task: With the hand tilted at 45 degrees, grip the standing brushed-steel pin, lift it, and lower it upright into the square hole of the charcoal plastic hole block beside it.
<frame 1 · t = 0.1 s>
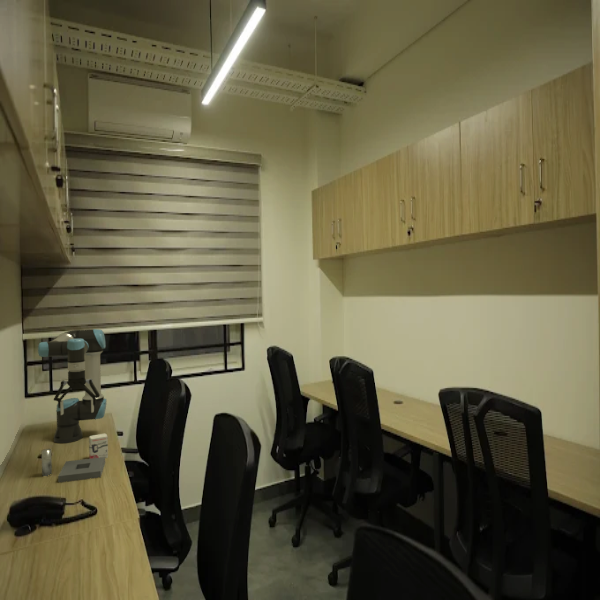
hand: (77, 413, 216), 28 cm above the table, tool pointing down, fingers open, 13 cm apart
hole block: (83, 472, 213), on the table
steel pin: (46, 474, 210), on the table
ink box: (98, 458, 231), on the table
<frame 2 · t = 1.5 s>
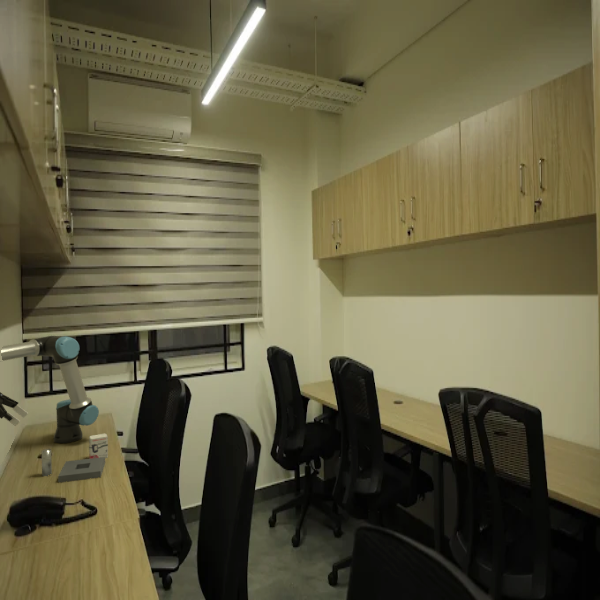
hand: (22, 419, 206), 28 cm above the table, tool tilted 45°, fingers open, 13 cm apart
nothing on the table moved.
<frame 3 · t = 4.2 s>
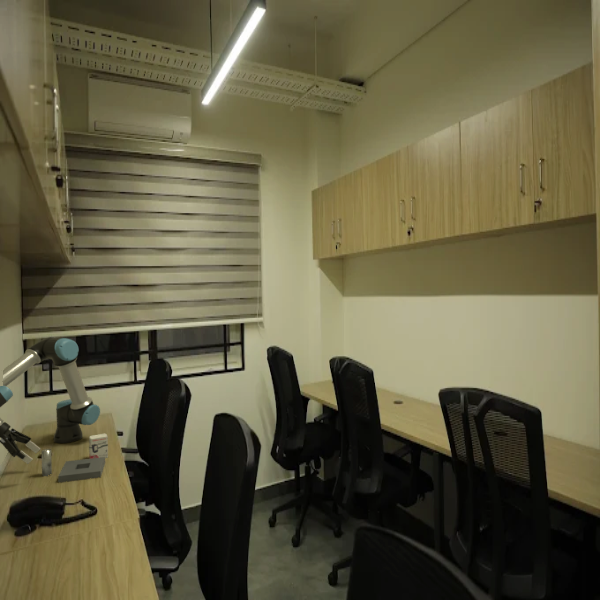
hand: (34, 456, 208), 10 cm above the table, tool tilted 45°, fingers open, 13 cm apart
nothing on the table moved.
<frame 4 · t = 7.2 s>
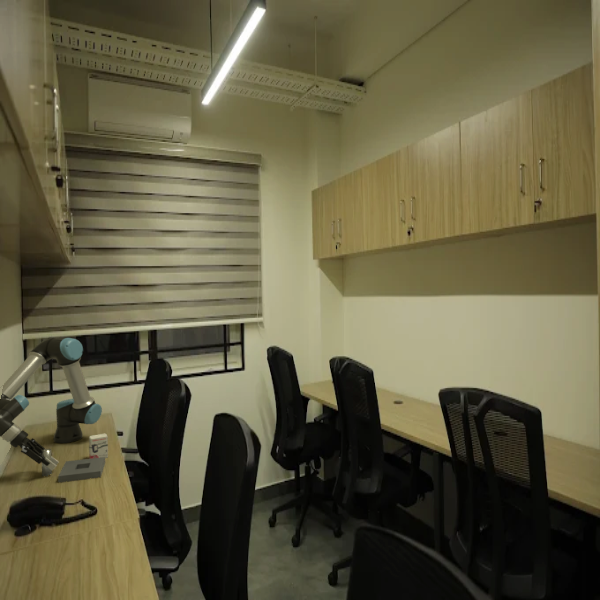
hand: (55, 466, 211), 4 cm above the table, tool tilted 45°, fingers closed on steel pin, 4 cm apart
steel pin: (46, 474, 210), on the table, touching gripper
everything else where it was.
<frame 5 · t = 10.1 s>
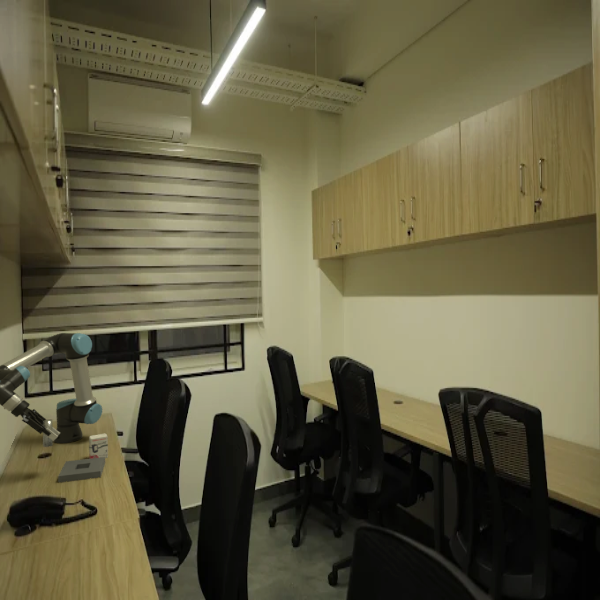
hand: (56, 436, 211), 18 cm above the table, tool tilted 45°, fingers closed on steel pin, 4 cm apart
steel pin: (48, 445, 210), point 14 cm above the table, touching gripper
everything else where it was.
when the fingers open (5 cm above the table, at t = 13.3 s): steel pin drops 2 cm, resting in hole block.
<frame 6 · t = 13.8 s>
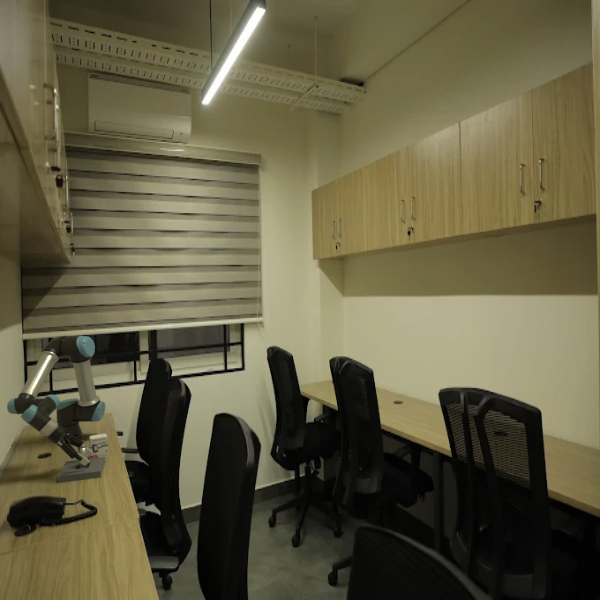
hand: (89, 458, 214), 6 cm above the table, tool tilted 45°, fingers open, 11 cm apart
steel pin: (82, 472, 213), resting in hole block
everything else where it was.
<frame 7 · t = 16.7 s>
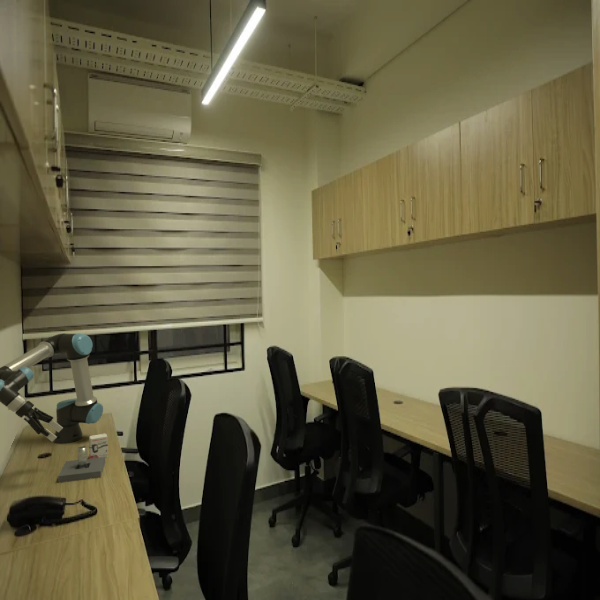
hand: (57, 434, 209), 20 cm above the table, tool tilted 45°, fingers open, 13 cm apart
nothing on the table moved.
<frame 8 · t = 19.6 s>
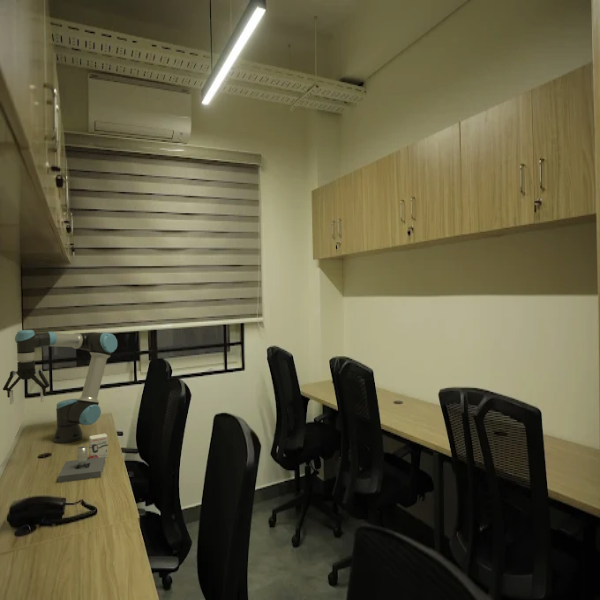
hand: (27, 402, 222), 32 cm above the table, tool pointing down, fingers open, 13 cm apart
nothing on the table moved.
at the end: steel pin 0.1 cm off-centre on the hole block, point 0.0 cm above the hole block's base; steel pin tilted 0°; the gripper is holding nothing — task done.
